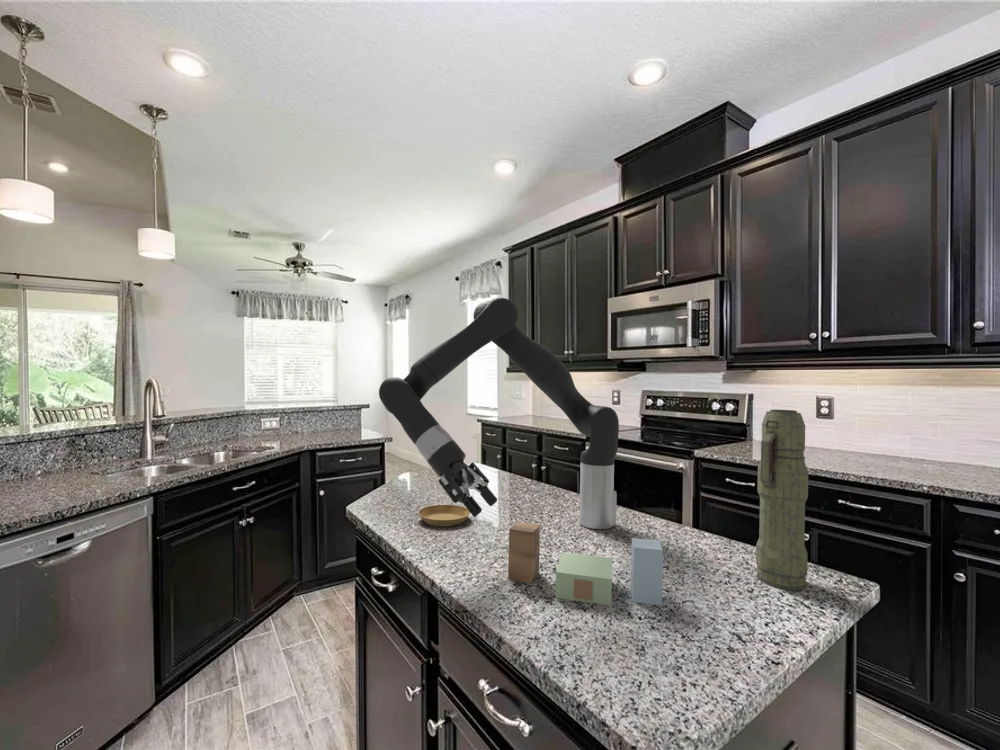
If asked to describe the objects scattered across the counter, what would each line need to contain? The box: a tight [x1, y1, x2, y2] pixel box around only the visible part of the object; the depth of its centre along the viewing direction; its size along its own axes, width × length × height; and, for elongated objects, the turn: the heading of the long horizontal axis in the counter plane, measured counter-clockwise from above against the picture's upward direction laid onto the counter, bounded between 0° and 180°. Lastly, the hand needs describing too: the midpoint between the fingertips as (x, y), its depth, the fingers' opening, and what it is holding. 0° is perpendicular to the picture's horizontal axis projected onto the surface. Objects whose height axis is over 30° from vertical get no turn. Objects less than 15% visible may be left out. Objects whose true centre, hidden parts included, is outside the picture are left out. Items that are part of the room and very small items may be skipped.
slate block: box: [630, 537, 664, 606], centre depth 84 cm, size 5×5×10 cm
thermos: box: [755, 409, 809, 591], centre depth 93 cm, size 9×12×35 cm
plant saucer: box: [417, 504, 471, 527], centre depth 128 cm, size 15×15×3 cm
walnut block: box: [507, 521, 541, 584], centre depth 92 cm, size 5×5×10 cm
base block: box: [555, 551, 613, 606], centre depth 87 cm, size 10×10×5 cm
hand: (486, 508), depth 96 cm, fingers open, 8 cm apart
